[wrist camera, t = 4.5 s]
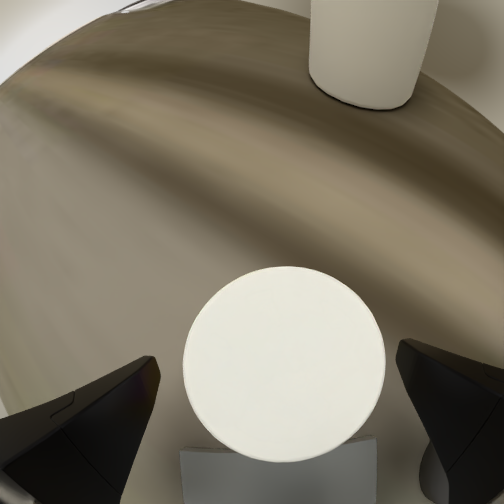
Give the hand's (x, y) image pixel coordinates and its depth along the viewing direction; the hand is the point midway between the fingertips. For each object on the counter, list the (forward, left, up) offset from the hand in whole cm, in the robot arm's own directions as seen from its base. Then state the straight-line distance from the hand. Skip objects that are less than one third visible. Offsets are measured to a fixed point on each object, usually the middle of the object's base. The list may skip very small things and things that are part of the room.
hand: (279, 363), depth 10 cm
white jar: (+11, -30, -9) cm, 33 cm away
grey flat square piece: (-7, +8, -9) cm, 14 cm away
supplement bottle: (0, 0, -9) cm, 9 cm away
